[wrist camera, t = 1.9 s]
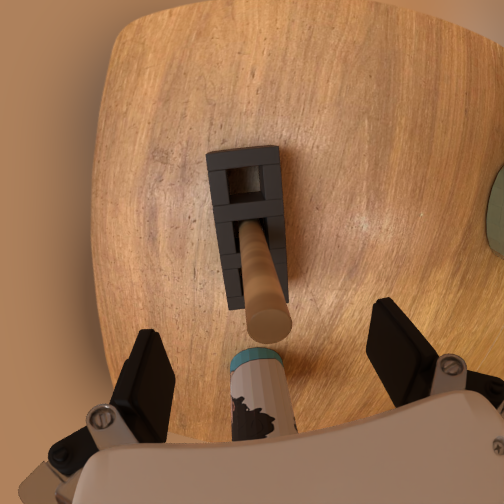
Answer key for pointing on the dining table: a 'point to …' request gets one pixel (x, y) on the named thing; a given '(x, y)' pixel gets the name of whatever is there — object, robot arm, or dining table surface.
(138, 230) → the dining table surface
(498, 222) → the bowl
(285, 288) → the holder
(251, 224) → the stick
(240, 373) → the printed cylindrical canister
